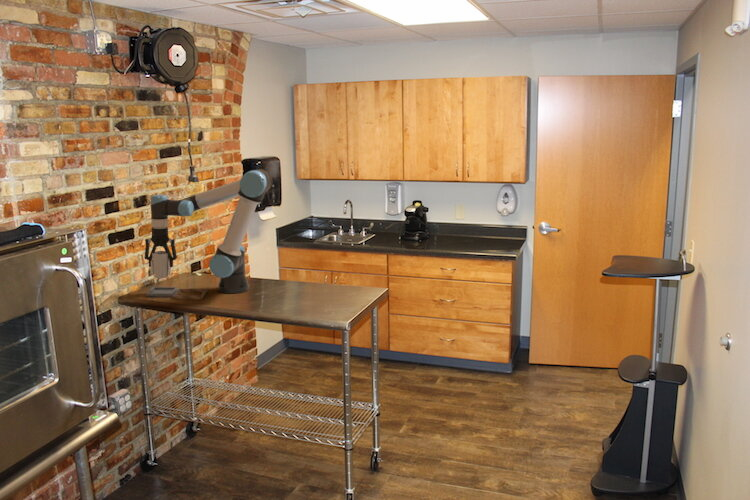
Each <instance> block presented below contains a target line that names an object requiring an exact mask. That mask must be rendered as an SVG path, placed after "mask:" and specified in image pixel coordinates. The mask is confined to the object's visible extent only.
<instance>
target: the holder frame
mask: <svg viewBox="0 0 750 500" xmlns="http://www.w3.org/2000/svg"><path fill="white" fill-rule="evenodd" d="M181 293H202V294H201V295H180V294H181ZM207 294H208V288H178V291H177V292H176V293H175V294H174V295H173V297H172V299H173V300H203V299H204V297H205V296H206V295H207Z"/></svg>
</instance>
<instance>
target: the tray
mask: <svg viewBox="0 0 750 500" xmlns="http://www.w3.org/2000/svg"><path fill="white" fill-rule="evenodd" d="M178 290H179V286H152V287H151V289H149V290H148V291H147V292H146V298H173V295H174V294H175V293H176V292H177V291H178Z"/></svg>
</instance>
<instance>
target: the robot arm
mask: <svg viewBox="0 0 750 500" xmlns="http://www.w3.org/2000/svg"><path fill="white" fill-rule="evenodd" d="M272 186H273V177H272V175H271V174H270V172H269V171H267V170H265V169H262V168H257V169H253V170H249V171H247V172H246V173H244V174H243V175H242V176H241V178H240V179H237V180H235V181H231V182H229V183H226V184H224V185H220V186H217V187H214V188H212V189H211V188H210V189H208V190H206V191H202V192H199V193H197V194H194V195H190V196H186V197H184V198H181V199H168V196H167V195H166V194H154V195H153V194H152V195H151V196H150V216H151V217H150V219H151V220H150V221H151V237H150V238H145V239H144V241H145V248H144V249H145V251H144V260H147V261H148V267H149V268H150V274H151V275H154V265H153V258H152V253H153V254H154V253H155V251H157V248H158V247H161V248H162V247H163V249H164V251H166V253H168V258H169V261H168V275H172V268H173V267H174V261H175V260H177V259H178V257H177V256H178V255H177V250H176V239H175V238H170V237H169V227H168V226H169V216H174V217H175V216H176V217H192V215H193V214H194V212H196V211H199V210H202V209H205V208H208V207H211V206H214V205H217V204H220V203H224V202H225V201H229V200H233V199H236V198H239V199H238V202H237V204H236V207H235V210H234V212H233V215H232V217H231V220H230V222H229V225H228V228H227V231H226V233H225V236H224V238H223V242H222V243H219V244H218V245H217V248H216V250H215V253H214V255H212V257H211V258H210V260H209V264H208V267H209V270H210V272H211V273H212V274H213V275H214V276H215V277H217V278H219V282H218V285H217V290H218V292H220V293H224V294H239V293H244V292H247V291H249V288H250V287H249V282H248V279H247V277H246V272H245V271H246V262H245V261H246V259H245V258H246V257H245V256H246V251H245V247H244V246H243V242H244V240H245V237H246V234H247V232H248V229H249V227H250V224H251V221H252V219H253V217H254V213H255V212H256V208H257V207H258V206H259V205H260V204H261V203H262V202H263V200H264V196H265V194H266V193H267V192H269V190H270V189H271V188H272ZM151 243H152V244H153V246H152V249H151V251H150V245H151ZM168 243H170V248H171V251H170V248H169V245H168Z"/></svg>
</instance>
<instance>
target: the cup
mask: <svg viewBox="0 0 750 500" xmlns="http://www.w3.org/2000/svg"><path fill="white" fill-rule="evenodd" d="M152 260H153V265H154V273H153V275H154V278H155V279H166V278H168V277H169V274H168V261H169V258H168V253H166V251H165V250H158V251H157V250H155V253H154V254H153V253H152Z"/></svg>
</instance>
